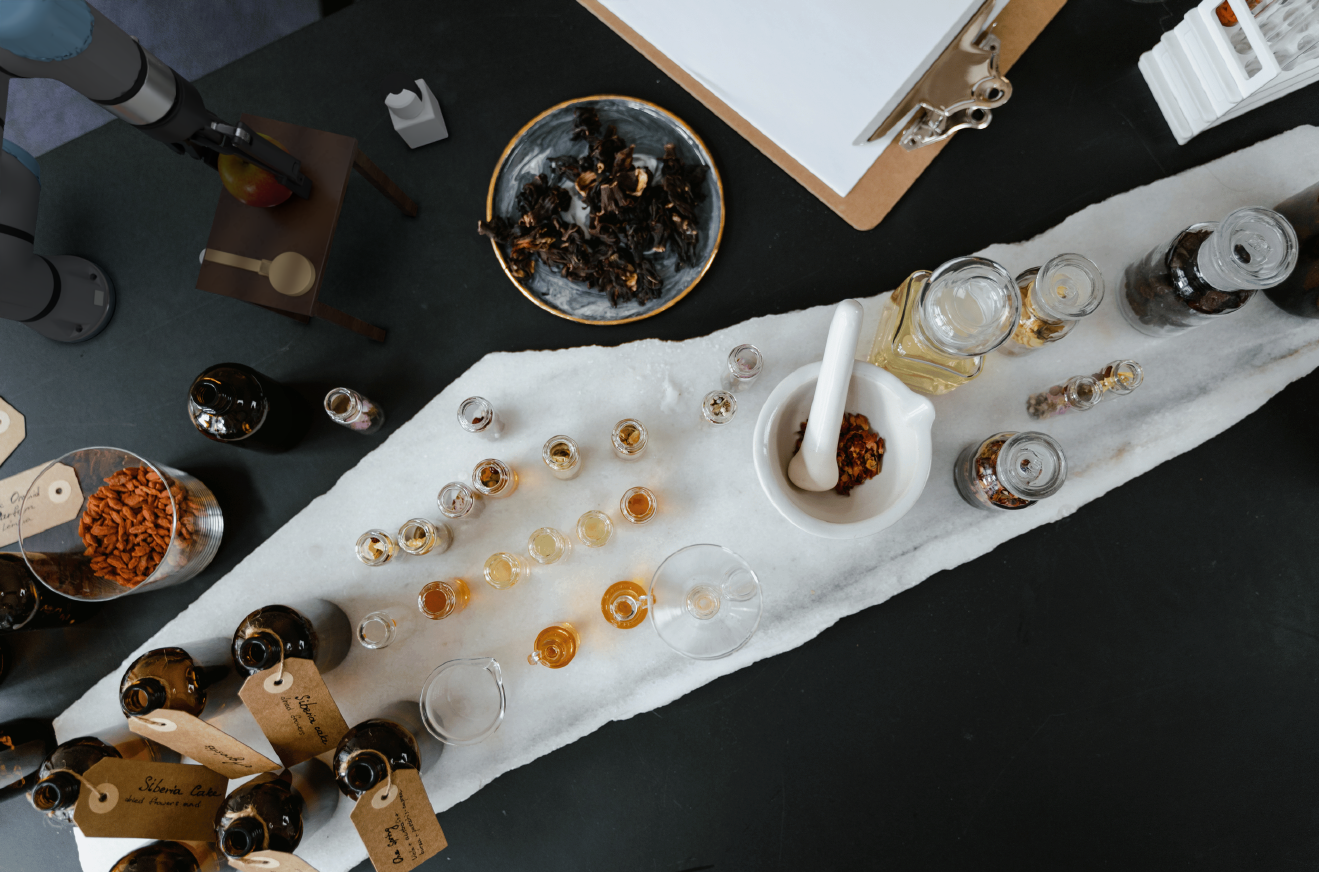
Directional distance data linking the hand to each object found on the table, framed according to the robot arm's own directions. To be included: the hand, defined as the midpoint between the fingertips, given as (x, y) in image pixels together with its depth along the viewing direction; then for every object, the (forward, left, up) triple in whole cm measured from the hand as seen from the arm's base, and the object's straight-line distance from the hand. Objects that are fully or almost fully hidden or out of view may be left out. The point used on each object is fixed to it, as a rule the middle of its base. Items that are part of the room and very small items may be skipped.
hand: (274, 182), depth 93 cm
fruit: (0, 0, 0) cm, 0 cm away
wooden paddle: (0, -12, -1) cm, 12 cm away
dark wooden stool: (+1, -4, -25) cm, 25 cm away
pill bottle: (-20, -10, -25) cm, 34 cm away
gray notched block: (+6, +23, -25) cm, 35 cm away
